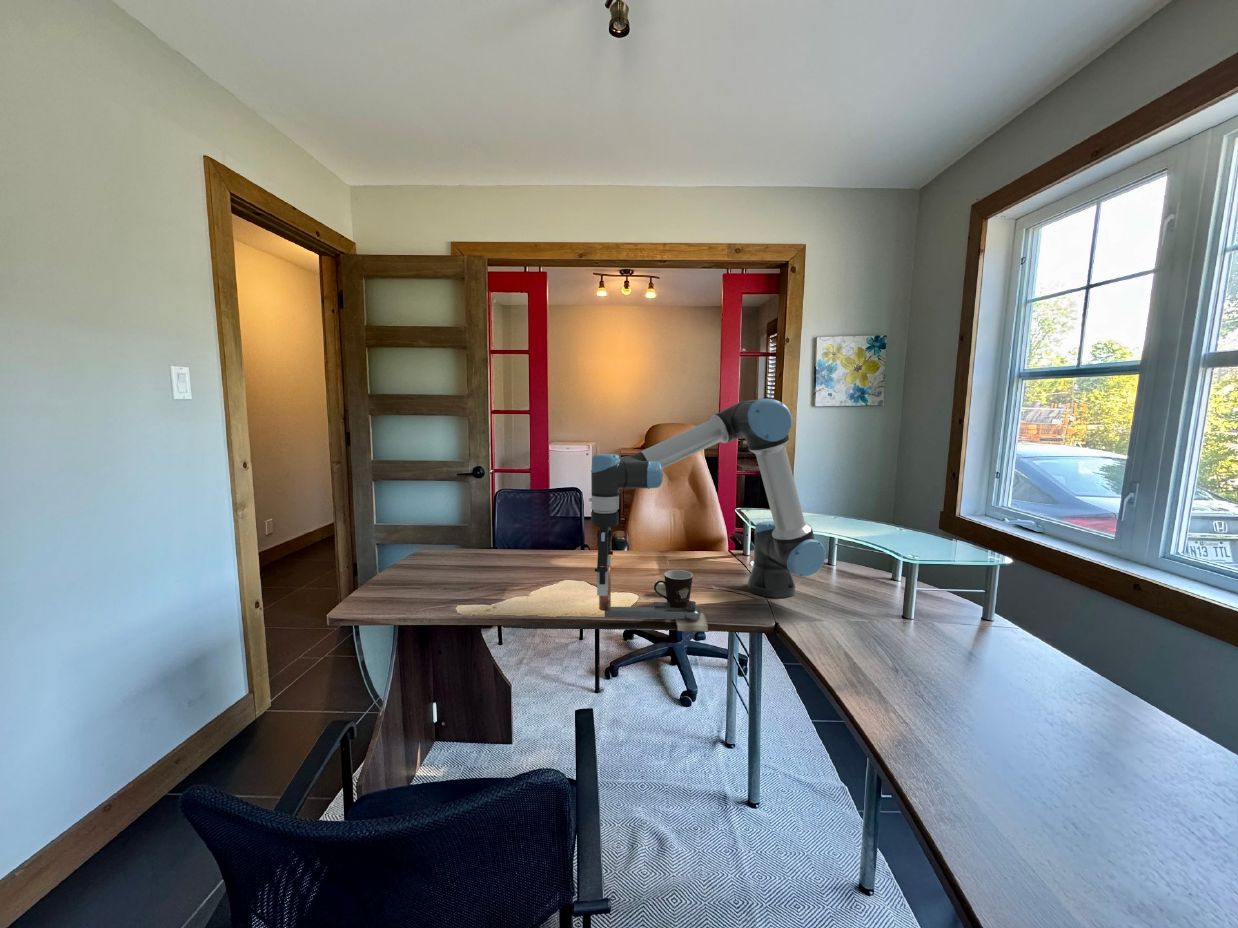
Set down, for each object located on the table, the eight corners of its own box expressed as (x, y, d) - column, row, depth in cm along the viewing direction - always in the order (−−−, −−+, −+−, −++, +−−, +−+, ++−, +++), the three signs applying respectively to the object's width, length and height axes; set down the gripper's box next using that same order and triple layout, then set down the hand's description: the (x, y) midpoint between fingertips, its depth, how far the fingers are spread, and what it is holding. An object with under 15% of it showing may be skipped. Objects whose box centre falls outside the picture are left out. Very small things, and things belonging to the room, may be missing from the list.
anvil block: (685, 593, 153) (686, 581, 152) (686, 596, 150) (686, 584, 150) (655, 592, 153) (655, 581, 153) (655, 595, 150) (655, 583, 150)
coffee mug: (691, 601, 146) (692, 570, 145) (693, 612, 137) (693, 579, 136) (654, 599, 147) (654, 569, 146) (653, 611, 139) (653, 578, 138)
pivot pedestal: (703, 618, 133) (703, 597, 133) (707, 631, 125) (708, 608, 125) (675, 618, 134) (675, 596, 133) (677, 630, 126) (678, 607, 125)
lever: (697, 612, 133) (698, 563, 132) (701, 622, 127) (702, 570, 125) (600, 611, 134) (600, 562, 133) (598, 620, 128) (598, 569, 126)
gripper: (595, 502, 140) (594, 571, 142) (586, 520, 115) (585, 603, 117) (620, 502, 140) (619, 571, 142) (616, 520, 115) (615, 603, 117)
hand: (604, 586), depth 129 cm, fingers open, 13 cm apart
